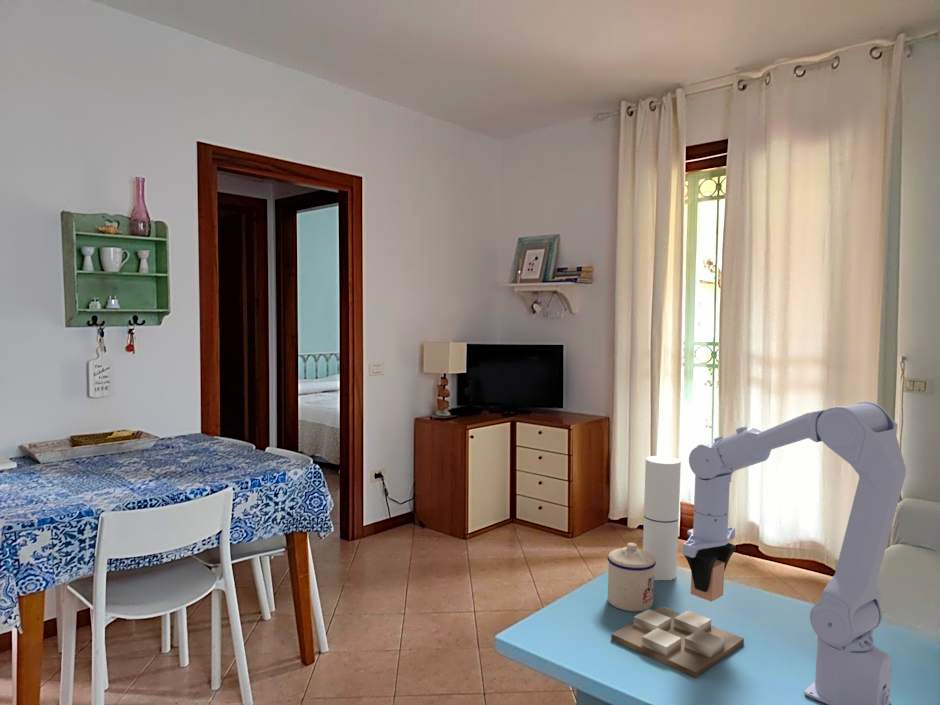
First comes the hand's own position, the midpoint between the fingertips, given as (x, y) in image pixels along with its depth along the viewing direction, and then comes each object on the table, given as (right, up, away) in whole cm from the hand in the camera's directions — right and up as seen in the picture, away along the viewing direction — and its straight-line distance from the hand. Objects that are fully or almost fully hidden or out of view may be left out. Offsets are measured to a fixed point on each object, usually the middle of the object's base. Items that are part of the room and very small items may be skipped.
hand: (707, 586), depth 120 cm
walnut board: (-6, -9, -3) cm, 11 cm away
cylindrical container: (-1, -7, +26) cm, 27 cm away
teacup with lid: (-10, -7, +14) cm, 19 cm away
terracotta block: (0, -2, 0) cm, 2 cm away
